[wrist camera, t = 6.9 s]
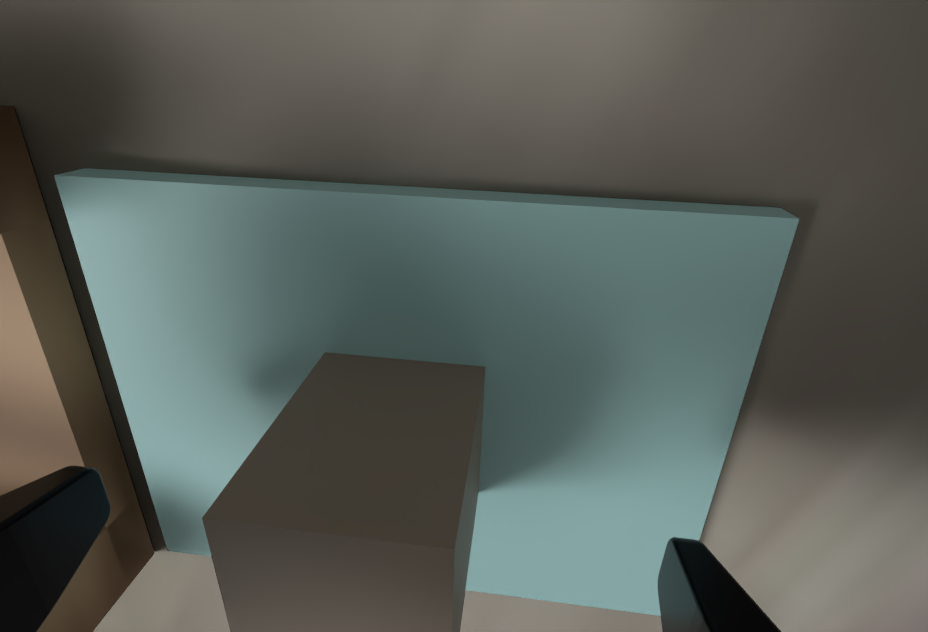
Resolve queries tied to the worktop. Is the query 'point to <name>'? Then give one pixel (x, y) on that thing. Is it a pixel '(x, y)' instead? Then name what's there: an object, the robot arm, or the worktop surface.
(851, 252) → the worktop surface
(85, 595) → the box
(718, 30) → the worktop surface
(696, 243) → the cover plate
